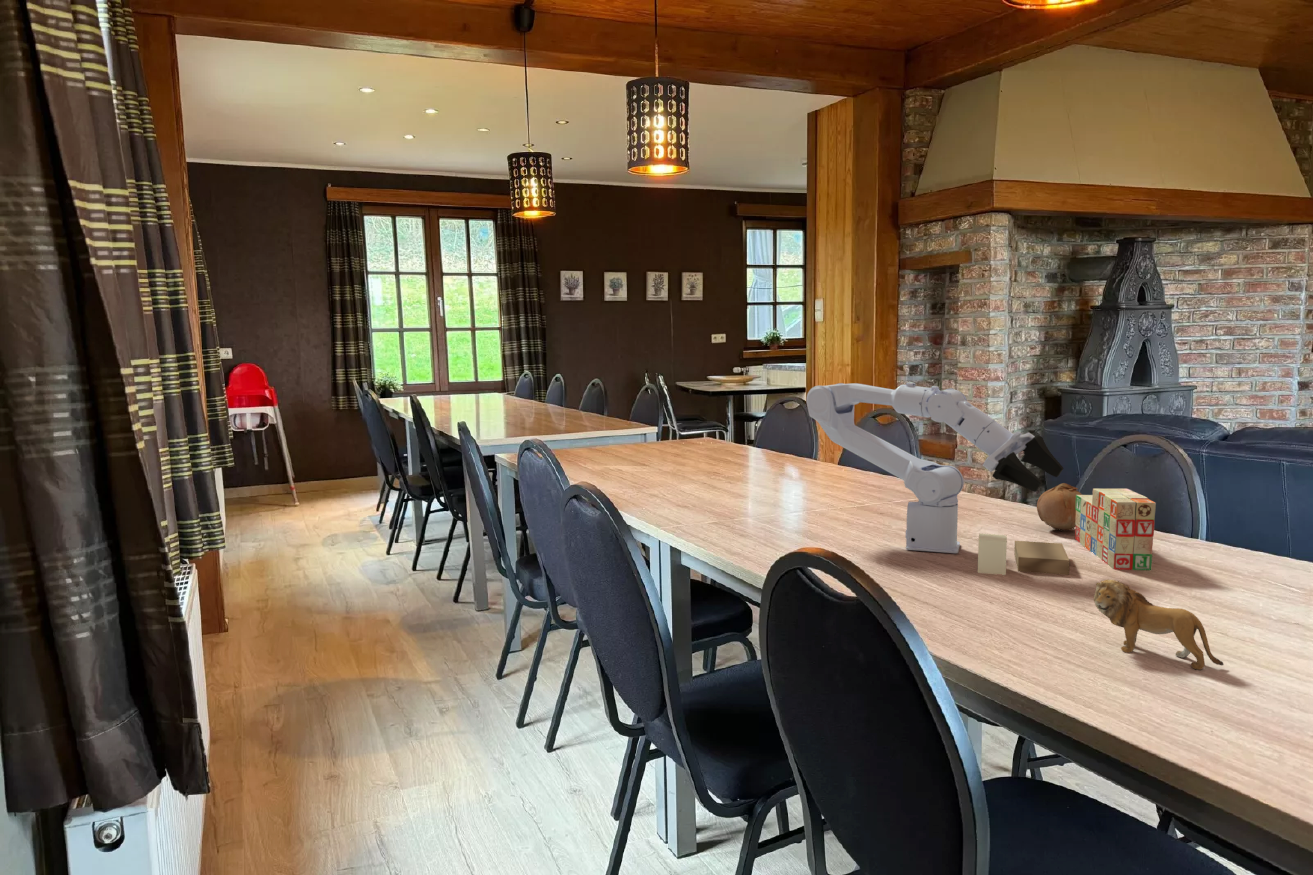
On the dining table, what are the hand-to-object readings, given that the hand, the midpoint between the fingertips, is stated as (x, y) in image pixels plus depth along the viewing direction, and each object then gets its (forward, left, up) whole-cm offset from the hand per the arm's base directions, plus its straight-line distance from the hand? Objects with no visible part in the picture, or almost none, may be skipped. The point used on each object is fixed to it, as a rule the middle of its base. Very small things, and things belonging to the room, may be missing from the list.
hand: (1049, 480), depth 146 cm
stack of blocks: (+11, +12, -16) cm, 23 cm away
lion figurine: (+10, -40, -16) cm, 44 cm away
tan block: (-1, +1, -16) cm, 16 cm away
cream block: (-9, -6, -16) cm, 19 cm away
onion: (+4, +29, -16) cm, 33 cm away
